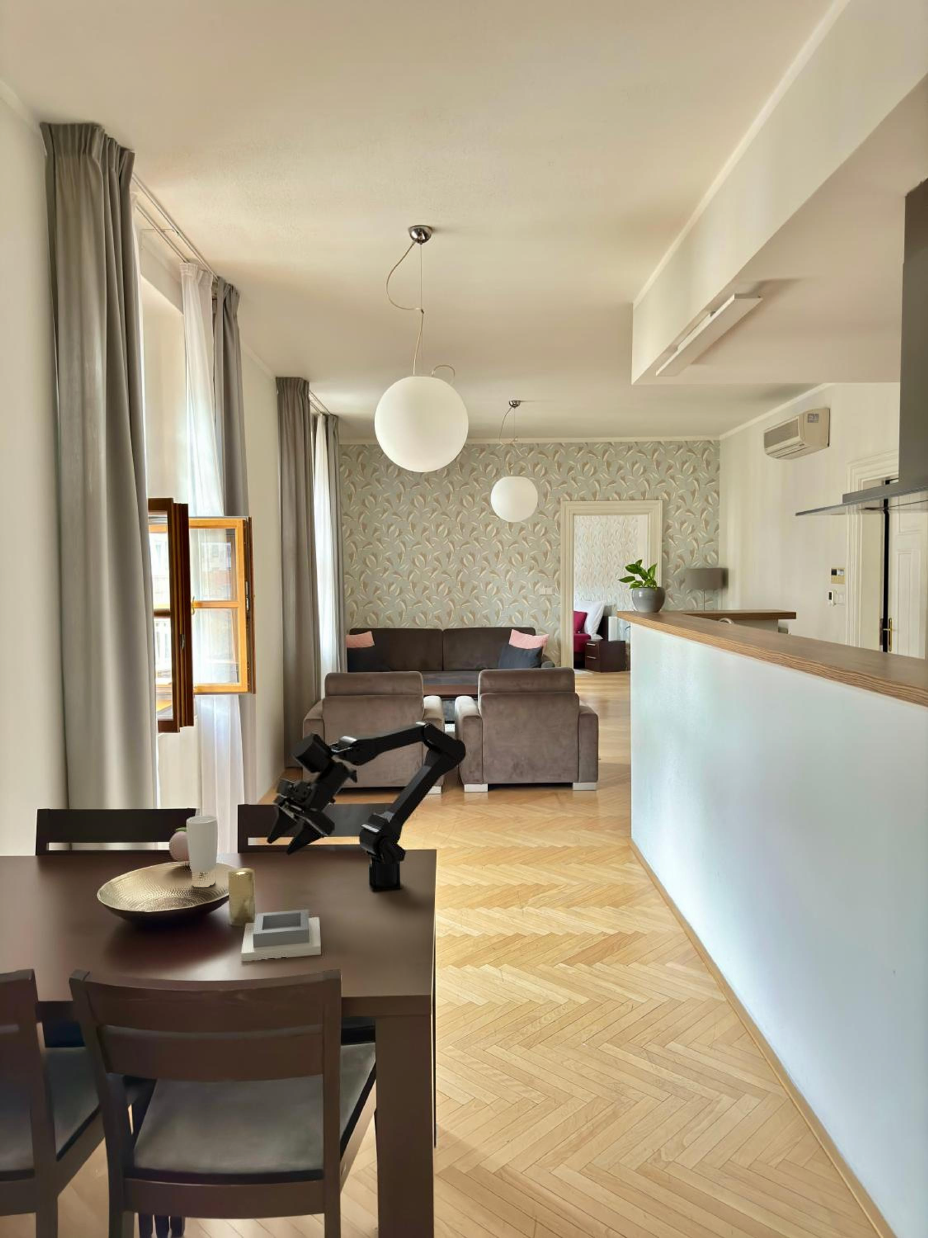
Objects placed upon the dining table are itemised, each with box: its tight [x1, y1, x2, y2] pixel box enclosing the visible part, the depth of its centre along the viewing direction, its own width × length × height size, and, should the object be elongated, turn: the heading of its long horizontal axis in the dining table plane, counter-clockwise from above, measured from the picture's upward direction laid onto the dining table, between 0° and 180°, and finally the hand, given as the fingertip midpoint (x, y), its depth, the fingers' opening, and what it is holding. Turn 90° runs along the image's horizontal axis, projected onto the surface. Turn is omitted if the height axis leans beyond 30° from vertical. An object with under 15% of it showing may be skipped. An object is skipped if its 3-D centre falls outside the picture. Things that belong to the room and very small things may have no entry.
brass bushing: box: [227, 867, 256, 928], centre depth 172 cm, size 5×5×10 cm
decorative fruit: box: [168, 827, 189, 862], centre depth 207 cm, size 9×8×10 cm
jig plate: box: [240, 908, 322, 962], centre depth 162 cm, size 14×14×4 cm
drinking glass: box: [185, 814, 219, 872], centre depth 194 cm, size 7×7×15 cm
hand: (277, 848), depth 176 cm, fingers open, 9 cm apart
